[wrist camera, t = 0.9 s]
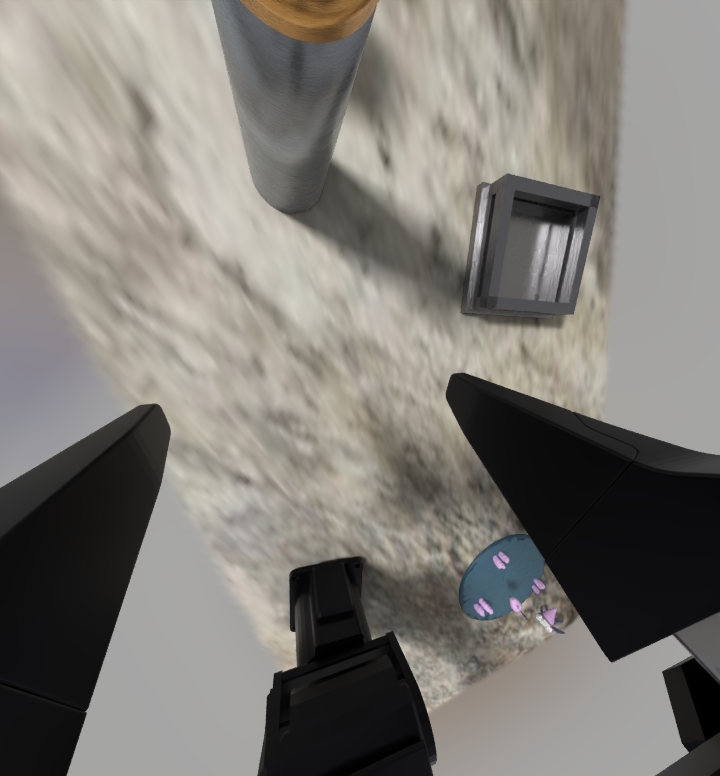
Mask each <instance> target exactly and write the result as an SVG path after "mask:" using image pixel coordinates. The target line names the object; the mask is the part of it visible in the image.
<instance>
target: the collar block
mask: <svg viewBox="0 0 720 776" xmlns="http://www.w3.org/2000/svg"><path fill="white" fill-rule="evenodd" d="M599 199H600V196H597V195H593V194H589V193H584V192H580V191H576V190H572V189H568V188H564V187H560V186H556V185H552V184H548V183H544V182H540V181H536V180H532V179H528V178H524V177H520V176H515V175H511V174H506V175H504V176H503V177H501V178H500V179H498V180H497V181H495V182H494V183H492V184H489V183H485V182H482V183H481V184H479V185H478V186H477V192H476V199H475V207H474V215H473V222H472V230H471V237H470V245H469V253H468V260H467V268H466V275H465V283H464V291H463V298H462V306H461V313H474V314H488V315H502V316H516V317H531V318H545V319H553V315H568V314H574V310H575V306H576V301H577V297H578V293H579V288H580V284H581V279H582V275H583V270H584V266H585V262H586V257H587V253H588V248H589V244H590V239H591V235H592V231H593V226H594V222H595V217H596V213H597V208H598V204H599Z"/></svg>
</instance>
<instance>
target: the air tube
mask: <svg viewBox="0 0 720 776" xmlns="http://www.w3.org/2000/svg"><path fill="white" fill-rule="evenodd" d="M378 2H379V0H212V5H213V9H214V14H215V18H216V23H217V27H218V31H219V36H220V40H221V45H222V49H223V54H224V58H225V62H226V67H227V71H228V76H229V80H230V85H231V89H232V93H233V98H234V102H235V107H236V111H237V116H238V120H239V124H240V129H241V133H242V138H243V142H244V147H245V151H246V155H247V160H248V164H249V169H250V173H251V177H252V180H253V183H254V185H255V187H256V189H257V191H258V192H259V194H260V195H261V196H262V198H263V199H264V200H265V201H266V202H267V203H268V204H270V205H271V206H273V207H274V208H276V209H278V210H280V211H283V212H286V213H300V212H304V211H306V210H308V209H310V208H311V207H312V206H313V205H314V204H315V203H316V202H317V200H318V199H319V197H320V195H321V192H322V189H323V186H324V183H325V179H326V176H327V172H328V169H329V166H330V162H331V159H332V155H333V152H334V149H335V145H336V142H337V138H338V135H339V132H340V128H341V125H342V122H343V118H344V115H345V111H346V108H347V105H348V101H349V98H350V94H351V91H352V88H353V84H354V81H355V78H356V74H357V71H358V67H359V64H360V61H361V57H362V54H363V50H364V47H365V44H366V40H367V37H368V33H369V30H370V27H371V23H372V20H373V17H374V13H375V10H376V6H377V4H378Z"/></svg>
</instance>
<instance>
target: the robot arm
mask: <svg viewBox="0 0 720 776" xmlns="http://www.w3.org/2000/svg"><path fill="white" fill-rule="evenodd" d="M446 399H447V402H448V404H449V406H450V408H451V410H452V412H453V414H454V416H455V418H456V420H457V422H458V424H459V426H460V427H461V429H462V431H463V433H464V435H465V436H466V438H467V440H468V441H469V443H470V444H471V446H472V448H473V449H474V451H475V452H476V454H477V455H478V457H479V459H480V460H481V462H482V463H483V465H484V466H485V468H486V469H487V471H488V473H489V474H490V476H491V477H492V479H493V480H494V482H495V484H496V485H497V487H498V488H499V490H500V491H501V493H502V494H503V496H504V498H505V499H506V501H507V502H508V504H509V505H510V507H511V508H512V510H513V512H514V513H515V515H516V516H517V518H518V519H519V521H520V523H521V524H522V526H523V527H524V529H525V530H526V532H527V533H528V535H529V537H530V538H531V540H532V541H533V543H534V544H535V546H536V548H537V549H538V551H539V552H540V554H541V555H542V557H543V558H544V559H545V562H546V564H547V565H548V567H549V568H550V570H551V571H552V573H553V574H554V576H555V578H556V579H557V581H558V582H559V584H560V585H561V587H562V589H563V590H564V592H565V593H566V595H567V596H568V598H569V600H570V601H571V603H572V604H573V606H574V607H575V609H576V610H577V612H578V614H579V615H580V617H581V618H582V620H583V621H584V623H585V625H586V626H587V628H588V629H589V631H590V632H591V634H592V635H593V637H594V639H595V640H596V642H597V643H598V645H599V646H600V648H601V650H602V651H603V652H604V654H605V655H606V657H607V658H608V659H609V661H610V662H615V661H617V660H619V659H621V658H623V657H625V656H627V655H629V654H632V653H634V652H636V651H638V650H640V649H642V648H644V647H647V646H649V645H651V644H653V643H655V642H657V641H659V640H661V639H663V638H666V637H668V636H670V635H673V636H674V637H675V638H676V639H677V640H678V641H679V642H680V643H681V644H682V645H683V646H684V647H685V649H686V650H687V651H688V652H689V653H690V654H691V655H692V656H690V657H688V658H686V659H685V660H683V661H681V662H679V663H677V664H675V665H673V666H672V667H670V668H668V669H666V670H664V671H663V672H662V673H663V676H664V680H665V684H666V687H667V691H668V695H669V698H670V702H671V706H672V709H673V713H674V716H675V720H676V724H677V727H678V731H679V735H680V738H681V742H682V744H683V745H684V747H685V748H686V749H687V750H688V752H689V753H688V754H687V755H685V756H684V757H682V758H681V759H679V760H678V761H677V762H675V763H673V764H672V765H670V766H669V767H667V768H666V769H665V770H663V771H662V772H660V773H659V774H657V775H656V776H720V455H714V454H707V453H702V452H698V451H693V450H690V449H686V448H683V447H680V446H677V445H673V444H670V443H667V442H664V441H661V440H658V439H654V438H651V437H648V436H645V435H642V434H639V433H635V432H632V431H629V430H626V429H623V428H620V427H616V426H613V425H610V424H608V423H605V422H602V421H599V420H596V419H593V418H590V417H587V416H584V415H582V414H579V413H576V412H572V411H570V410H567V409H565V408H562V407H559V406H556V405H553V404H550V403H548V402H545V401H542V400H539V399H536V398H534V397H531V396H528V395H525V394H522V393H520V392H517V391H514V390H511V389H508V388H505V387H503V386H500V385H497V384H494V383H491V382H489V381H486V380H483V379H480V378H477V377H474V376H472V375H469V374H466V373H455V374H452V375H451V377H450V380H449V383H448V387H447V390H446ZM170 435H171V430H170V426H169V423H168V421H167V419H166V417H165V414H164V412H163V410H162V408H161V406H160V405H158V404H145V405H139V406H137V407H136V408H134V409H132V410H131V411H129V412H127V413H126V414H124V415H122V416H120V417H119V418H117V419H115V420H114V421H112V422H110V423H109V424H107V425H105V426H104V427H102V428H100V429H99V430H97V431H95V432H94V433H92V434H90V435H89V436H87V437H85V438H84V439H82V440H80V441H78V442H77V443H75V444H74V445H72V446H70V447H68V448H67V449H65V450H63V451H62V452H60V453H58V454H57V455H55V456H53V457H52V458H50V459H48V460H47V461H45V462H43V463H42V464H40V465H38V466H37V467H35V468H33V469H31V470H30V471H28V472H26V473H25V474H23V475H21V476H20V477H18V478H16V479H15V480H13V481H11V482H10V483H8V484H6V485H5V486H3V487H1V488H0V776H67V773H68V770H69V766H70V763H71V760H72V757H73V754H74V751H75V748H76V745H77V742H78V739H79V736H80V733H81V729H82V727H83V724H84V721H85V717H86V714H87V713H86V712H85V711H86V710H87V709H88V707H89V704H90V701H91V698H92V695H93V692H94V689H95V686H96V683H97V680H98V677H99V673H100V670H101V667H102V664H103V661H104V658H105V655H106V652H107V649H108V646H109V643H110V640H111V637H112V634H113V631H114V628H115V625H116V621H117V618H118V615H119V612H120V609H121V606H122V603H123V600H124V597H125V594H126V591H127V588H128V584H129V582H130V579H131V575H132V572H133V569H134V566H135V563H136V560H137V557H138V554H139V551H140V548H141V545H142V541H143V538H144V535H145V533H146V529H147V526H148V523H149V520H150V517H151V514H152V511H153V508H154V505H155V502H156V499H157V496H158V493H159V489H160V486H161V482H162V478H163V473H164V467H165V462H166V457H167V451H168V446H169V440H170ZM362 569H363V563H362V560H361V559H360V558H352V559H347V560H342V561H337V562H331V563H326V564H321V565H316V566H311V567H305V568H300V569H295V570H293V571H291V572H290V575H289V584H290V630H291V631H292V632H296V656H297V667H295V668H293V669H290V670H287V671H284V672H282V671H279V672H276V673H274V679H273V688H272V689H270V694H269V695H268V696H267V707H266V726H265V735H264V741H263V747H262V752H261V758H260V764H259V770H258V775H257V776H433V773H432V769H431V766H432V765H434V764H436V761H437V757H436V756H437V755H436V747H435V742H434V737H433V732H432V728H431V724H430V720H429V717H428V713H427V710H426V707H425V704H424V701H423V698H422V695H421V692H420V689H419V687H418V685H417V682H416V680H415V678H414V676H413V673H412V671H411V669H410V667H409V665H408V663H407V660H406V658H405V656H404V654H403V652H402V650H401V647H400V645H399V643H398V641H397V639H396V637H395V635H394V632H393V631H391V632H388V633H386V635H385V636H382V637H379V638H376V639H374V640H372V638H371V635H370V631H369V627H368V624H367V620H366V617H365V613H364V609H363V606H362V602H361V584H362ZM294 576H295V577H294Z"/></svg>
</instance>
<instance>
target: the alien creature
mask: <svg viewBox="0 0 720 776" xmlns="http://www.w3.org/2000/svg"><path fill="white" fill-rule="evenodd" d="M544 563H545V559H544V558H543V557H542V555H541V554H540V552H539V551H538V549H537V548H536V546H535V544H534V543H533V541H532V540H531V538H530V537H529V535H524V534H516V535H510V536H507V537H504V538H502V539H499V540H497V541H496V542H494V543H492V544H491V545H489V546H488V547H487V548H485V549H484V550H483V551H482V552H481V553H480V554H479V555H478V556H477V557H476V558H475V559H474V560H473V562H472V563H471V564H470V566H469V567H468V569H467V570H466V572H465V574H464V576H463V579H462V581H461V585H460V589H459V601H460V605H461V607H462V609H463V611H464V612H465V613H466V614H467V615H468V616H470V618H472V619H473V618H474V619H477V620H492V619H496V618H499V617H502V616H504V615H507V614H509V613H510V612H511V611H513V610H514V611H516V612H520V611H521V610H522V605H521V604H522V603H523V602H524V601H525V600H526V599H527V598H528V597H529V595H530V594H531V593H532V592H533V591H534V592H535V593H536V594H540V592H539V590H538V588H537V587H536V586H538V587H539V588H540V589H545V585H544V584H543V583H542V582H541V581H540V578H541V577H542V574H543V571H544ZM545 607H546V611H544V612H543V611H542V606H541V613H538V614H536V617H537V618H536V619H538V620H540V623H542V626H545V628H544V629H546V630H548V631H547V632H549V633H551V632H552V629H554V630H555V631H556V632H558V633H561V634H564V632H562V631H560V630H558V629H556V628H555V627H554V626H553V623H554V621H557V622H563V621H560V620H557V619H555V614H556V611H557V608H552V609H550V610H548V609H547V606H545ZM521 613H522V612H521ZM522 614H523V613H522ZM523 616H524V617H525V615H524V614H523ZM525 618H526V617H525ZM526 619H527V618H526Z"/></svg>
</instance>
